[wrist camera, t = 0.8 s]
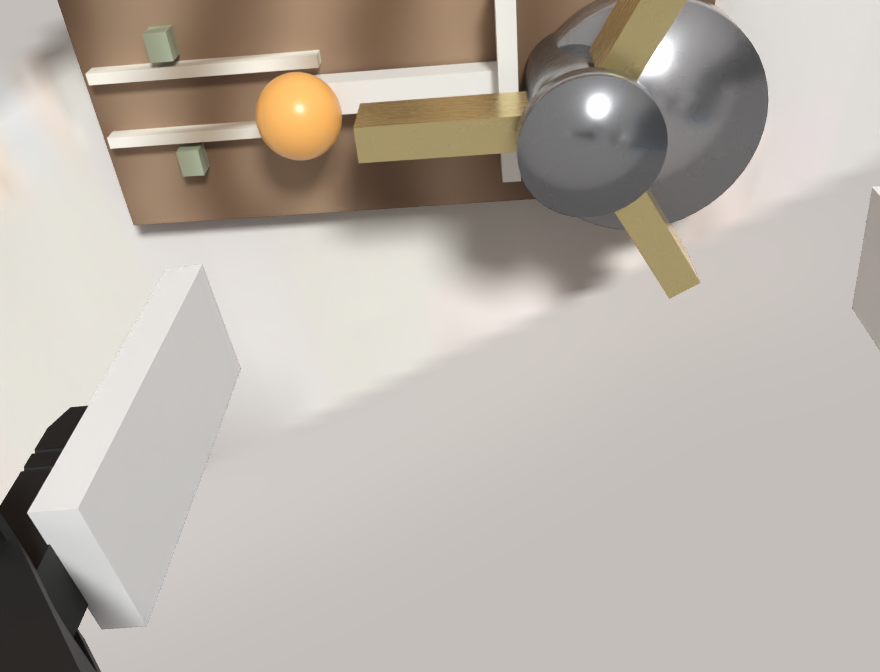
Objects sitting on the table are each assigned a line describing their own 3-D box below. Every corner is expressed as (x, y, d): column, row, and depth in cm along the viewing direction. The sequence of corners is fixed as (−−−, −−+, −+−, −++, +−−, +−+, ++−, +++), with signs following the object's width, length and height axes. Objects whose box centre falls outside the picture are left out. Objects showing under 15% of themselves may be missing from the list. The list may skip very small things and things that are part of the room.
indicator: (512, -23, 33) (519, 9, 30) (518, 162, 38) (524, 210, 34) (250, -1, 34) (224, 33, 30) (287, 177, 39) (269, 226, 35)
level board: (715, -104, 33) (732, -93, 31) (687, 174, 40) (700, 198, 38) (59, -46, 35) (34, -32, 33) (143, 210, 42) (127, 235, 40)
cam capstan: (356, 98, 36) (333, 181, 30) (499, -240, 29) (511, -231, 23) (667, 240, 40) (707, 340, 34) (862, -28, 33) (963, 33, 26)
